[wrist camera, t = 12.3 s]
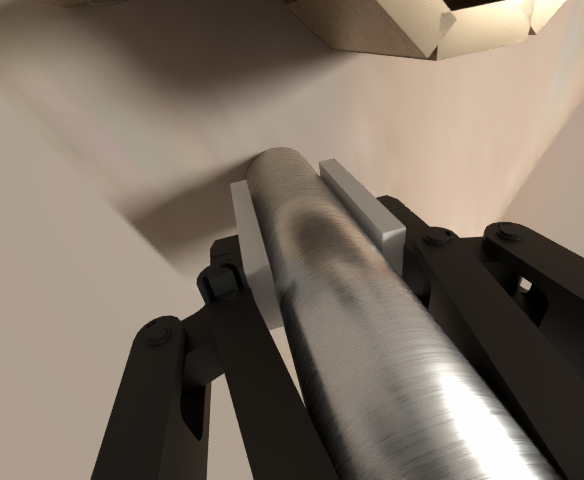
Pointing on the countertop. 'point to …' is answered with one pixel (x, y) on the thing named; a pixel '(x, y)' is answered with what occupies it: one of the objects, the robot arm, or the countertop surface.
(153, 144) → the countertop surface
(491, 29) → the knuckle and fixed leaf
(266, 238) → the hinge pin
